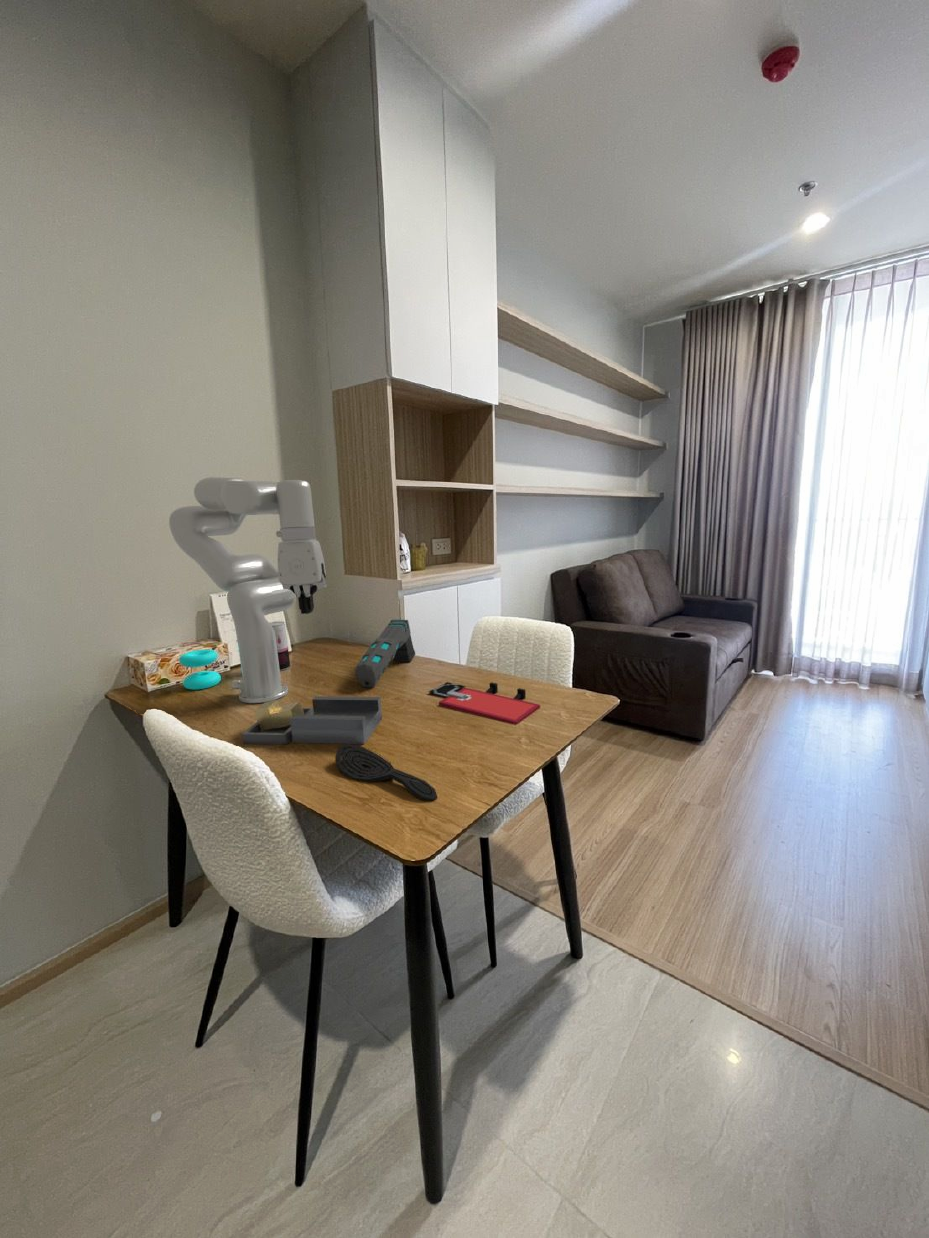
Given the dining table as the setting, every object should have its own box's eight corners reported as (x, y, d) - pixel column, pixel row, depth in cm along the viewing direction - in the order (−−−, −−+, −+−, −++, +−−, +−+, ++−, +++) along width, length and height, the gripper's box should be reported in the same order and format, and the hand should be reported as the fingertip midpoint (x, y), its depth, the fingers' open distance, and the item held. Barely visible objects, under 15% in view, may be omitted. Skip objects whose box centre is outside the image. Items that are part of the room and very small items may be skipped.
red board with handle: (451, 683, 140) (416, 701, 128) (451, 673, 139) (416, 691, 127) (547, 704, 122) (517, 727, 111) (547, 694, 122) (516, 716, 110)
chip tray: (243, 743, 107) (241, 734, 106) (277, 715, 121) (276, 707, 121) (286, 744, 105) (285, 734, 105) (315, 716, 120) (314, 707, 119)
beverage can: (290, 664, 164) (284, 620, 161) (290, 669, 158) (285, 624, 155) (269, 667, 162) (263, 622, 159) (269, 672, 156) (263, 626, 153)
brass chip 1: (275, 727, 111) (261, 731, 111) (285, 718, 115) (271, 721, 116) (267, 707, 110) (253, 710, 110) (278, 699, 115) (264, 702, 115)
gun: (417, 652, 166) (409, 614, 158) (384, 710, 141) (373, 667, 134) (399, 652, 168) (390, 614, 160) (363, 708, 143) (351, 666, 136)
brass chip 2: (275, 728, 111) (270, 714, 110) (285, 719, 115) (280, 706, 115) (295, 723, 110) (290, 709, 109) (304, 715, 115) (300, 701, 114)
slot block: (292, 742, 106) (290, 718, 105) (318, 717, 119) (315, 696, 117) (364, 744, 104) (362, 719, 103) (382, 718, 116) (380, 696, 115)
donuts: (223, 650, 146) (189, 659, 138) (228, 682, 148) (194, 693, 140) (205, 646, 151) (171, 655, 143) (210, 677, 153) (177, 687, 145)
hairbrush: (417, 798, 79) (324, 749, 94) (418, 818, 80) (325, 766, 95) (451, 776, 85) (358, 734, 100) (451, 795, 86) (359, 750, 101)
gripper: (260, 537, 112) (270, 616, 115) (322, 535, 110) (330, 615, 113) (276, 535, 119) (285, 610, 123) (335, 533, 117) (342, 609, 121)
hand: (307, 612), depth 118 cm, fingers closed
